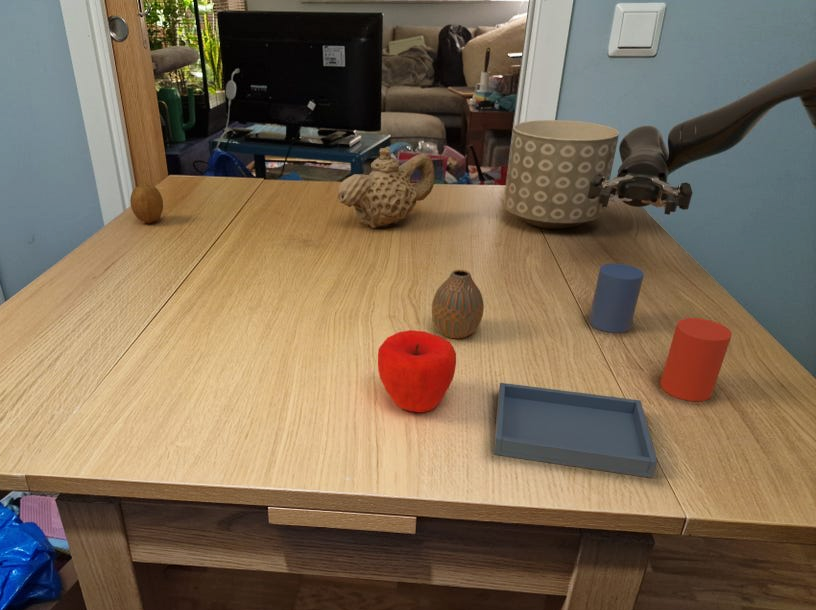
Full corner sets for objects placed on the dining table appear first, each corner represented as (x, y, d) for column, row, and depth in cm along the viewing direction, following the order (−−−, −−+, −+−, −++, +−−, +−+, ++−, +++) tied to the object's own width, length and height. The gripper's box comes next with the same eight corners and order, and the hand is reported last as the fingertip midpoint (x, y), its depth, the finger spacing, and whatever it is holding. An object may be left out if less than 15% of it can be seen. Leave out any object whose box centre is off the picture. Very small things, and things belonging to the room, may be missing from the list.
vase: (488, 329, 92) (496, 270, 88) (467, 348, 87) (474, 287, 83) (443, 316, 96) (448, 259, 91) (421, 335, 91) (425, 275, 86)
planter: (536, 203, 145) (550, 116, 136) (618, 224, 132) (638, 130, 123) (482, 221, 134) (493, 128, 125) (565, 245, 122) (583, 144, 113)
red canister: (705, 379, 81) (725, 320, 77) (716, 404, 76) (737, 342, 72) (656, 373, 82) (672, 315, 78) (664, 397, 77) (682, 337, 73)
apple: (366, 386, 79) (367, 328, 75) (435, 378, 81) (440, 320, 77) (388, 429, 71) (391, 367, 68) (464, 419, 73) (471, 357, 69)
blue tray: (636, 415, 74) (640, 400, 73) (652, 478, 64) (657, 462, 64) (497, 396, 77) (500, 382, 76) (493, 454, 68) (495, 438, 67)
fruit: (169, 218, 135) (164, 179, 131) (159, 228, 130) (154, 187, 126) (140, 217, 136) (134, 178, 132) (128, 227, 130) (122, 186, 127)
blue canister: (628, 317, 96) (640, 265, 92) (633, 334, 91) (646, 280, 87) (587, 313, 97) (598, 261, 93) (590, 330, 92) (601, 276, 88)
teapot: (353, 241, 124) (354, 159, 116) (324, 223, 132) (324, 146, 125) (445, 224, 132) (452, 147, 125) (413, 209, 141) (417, 136, 134)
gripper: (683, 205, 108) (683, 235, 95) (591, 194, 113) (580, 222, 100) (696, 158, 104) (698, 183, 91) (600, 149, 109) (589, 172, 96)
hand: (636, 204), depth 96 cm, fingers open, 8 cm apart
